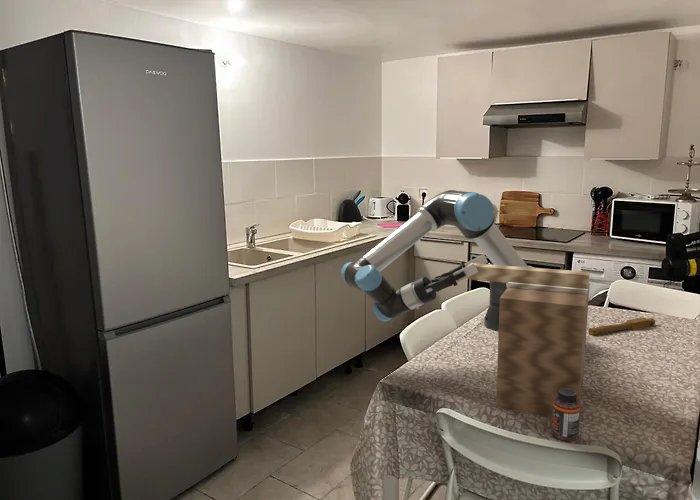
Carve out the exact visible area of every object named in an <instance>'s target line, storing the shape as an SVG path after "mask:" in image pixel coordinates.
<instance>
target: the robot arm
mask: <svg viewBox="0 0 700 500" xmlns="http://www.w3.org/2000/svg"><path fill="white" fill-rule="evenodd" d="M494 211H495V208H494V205H493V202H492V201H491V200H490V198H488V197H487V196H486V195H484V194H481V193H478V192H474V191H462V190H452V189H451V190H445V191H443V192H440V193H438V194H436V195H434V196H433V197H432V198H430V199H429V200H428V201H426V202H425V203H423V204H422V205H420V207H418V208H417V210H416V214H414V215H413V216H412V217H410V218H409V219H408V220H407V221H405V222H404V223H403V224H402V225H401V226H399V227H398V228H397V229H396V230H394V231H393V232H392V233H390V234H389V235H388V236H386V237H385V238H384V239H383V240H381V242H379V243H378V244H376V246H374V247H373V248H372V249H370V250H369V251H368V252H366V254H364V255H363V256H362V257H360V258H359V259H358V260H356V261H349V262H346V263H345V264H344V265H343V266H342V268H341V270H340V276H341V280H342V281H343V282H344V283H345V284H347V285H348V286H349V287H352V288H354V289H356V290H358V291H359V292H362V293H363V294H365V295H366V296H367V297H369V298H370V299H371V300H372V301H373V303H372V311H373V313H374V314H375V316H376V318H377V319H378V321H381V322H385V323H386V322H388V321H391V320H395V319H396V318H398V317H401V316H403V315H404V314H405V313H408V312H410V311H413V310H415V309H416V310H419V309H420V307H421V306H423V305H424V304H428V303H430V302H432V301H434V300H436V298H437V292H440V291H441V290H444V289H446V288H449V287H452V286H454V287H456V286H458V282H460V281H463V280H465V279H468V277H469V276H471V275H474V274H476V273H478V270H477V268H476V266H475V265H474V263H478V264H489V261H488V260H487V258H488V259H489V260H490V262H491V264H492V265H504V266H518V267H531V268H535V267H533V266H532V265H527V263H525V261H524V260H523V259H522V257H521V256H520V255H519V254H518V253H519V252H518V251H516V249H515V248H514V247H513V245H511V243H510V242H509V241H508V239H507V238H506V237H505V235H504V234H503V233H502V232H501V230H500V229H499V228H498V226H497V225H496V223H495V222H496V216H495V213H494ZM448 225H449V226H452V227H456V228H457V229H458V230H459V231H460V233H461V234H462V235H463V236H464V237H465V238H466V239H467V240H473V241H474V242H475V244H476V245H477V246H478V247H479V248H480V250H481V251H482V252H483V253H484V254H481V255H479V256H477V257H474V258H473V259H471V260H469V261H467V262H465V261H462V262H461V265H459V266H457V267H456V268H453V269H451V270H449V271H448V272H445V273H442V274H440V275H437V276H435V277H433V278H432V279H431V280H430V278H428V277H426V276H423V277H420V278H419V279H416V280H414V281H412V282H410V283H408V284H406V285H403V286H402V287H400V288H399V289H395V287H394V286H393V285H392V284H391V283H390V282H389V281H388V280H387V279H386V278H385V277H384V275H383V274H382V273H381V271H383V270H384V269H385V268H387V267H388V266H390V264H392V263H393V262H394V261H395V260H396V259H398V258H399V257H400V256H402V255H403V254H404V253H405V252H407V251H408V250H409V249H411V247H413V246H414V245H415V244H417V242H419V241H420V240H421V239H422V238H423V237H425V236H426V235H427V234H429V233H430V232H436V231H437V230H439V229H440V228H441V227H444V226H448ZM486 257H487V258H486ZM470 263H473V264H471V265H469V264H470ZM468 265H469V266H468ZM507 288H508V283H504V282H492V281H489V306H488V308H487V311H486V313H485V315H484V319H483V325H484V326H485V328H488V329H490V330H492V331H497V332H499V307H500V297H501V296H502V294H503V293H504V292H505V290H506V289H507Z"/></svg>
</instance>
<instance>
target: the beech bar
mask: <svg viewBox="0 0 700 500" xmlns="http://www.w3.org/2000/svg"><path fill="white" fill-rule="evenodd" d="M471 264H473V263H470V264H469V265H471ZM469 265H468V266H469ZM474 265H475V266H476V268H477V270H478V273H476V274H474V275H471V276H469V277H467V280H471V281H484V282H490V281H492V282H504V283H508V282H513V283H525V284H536V285H547V286H558V287H570V288H581V289H588V287H589V288H590V286H589V283H590V271H583V270H582V271H579V270H569V269H567V270H566V269H556V268H554V269H553V268H552V269H551V268H545V267H544V268H542V267H541V268H540V267H534V268H531V267H518V266H504V265H494V264H492V263H491V264H489V263H486V264H478V263H474Z"/></svg>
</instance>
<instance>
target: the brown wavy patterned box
mask: <svg viewBox="0 0 700 500" xmlns="http://www.w3.org/2000/svg"><path fill="white" fill-rule="evenodd" d="M590 285H591V284H590V282H589V287H588V289H581V288H570V287H558V286H547V285H536V284H525V283H513V282H508V288H507V289H506V290H505V292H504V293H503V294H502V296H501V297H500V307H499V331H498V341H497V364H496V365H497V367H496V371H497V372H496V395H495V396H496V397H495V408H498V409H502V410H503V409H504V410H508V411H514V412H519V413H524V414H528V415H529V414H530V415H535V416H541V417H547V418H552V419H553V403H554V399H555V398H556V397H557V396H558V392H559V389H561V388H569V389H572V390H574V391H576V393H577V398H576V399H577V400H578V401H579V402H580V403H581V399H582V393H583V385H584V376H585V375H584V373H585V360H586V359H585V357H586V342H587V332H588V330H587V329H588V313H589V312H588V311H589V299H590V298H589V297H590Z"/></svg>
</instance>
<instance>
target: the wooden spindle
mask: <svg viewBox="0 0 700 500" xmlns="http://www.w3.org/2000/svg"><path fill="white" fill-rule="evenodd" d="M655 324H656V320H655V319H654V318H652V317H650V318H646V317H638V318H633V319H627V320H626V322H624V323H617V324H609V325H600V326H596V327H590V328H588V330H587V332H588V335H589V336H591V337H594V336H598V335H605V334H610V333H614V332H618V331H622V330H632V331H634V330H641V329H646V328H650V326H654V325H655Z"/></svg>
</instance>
